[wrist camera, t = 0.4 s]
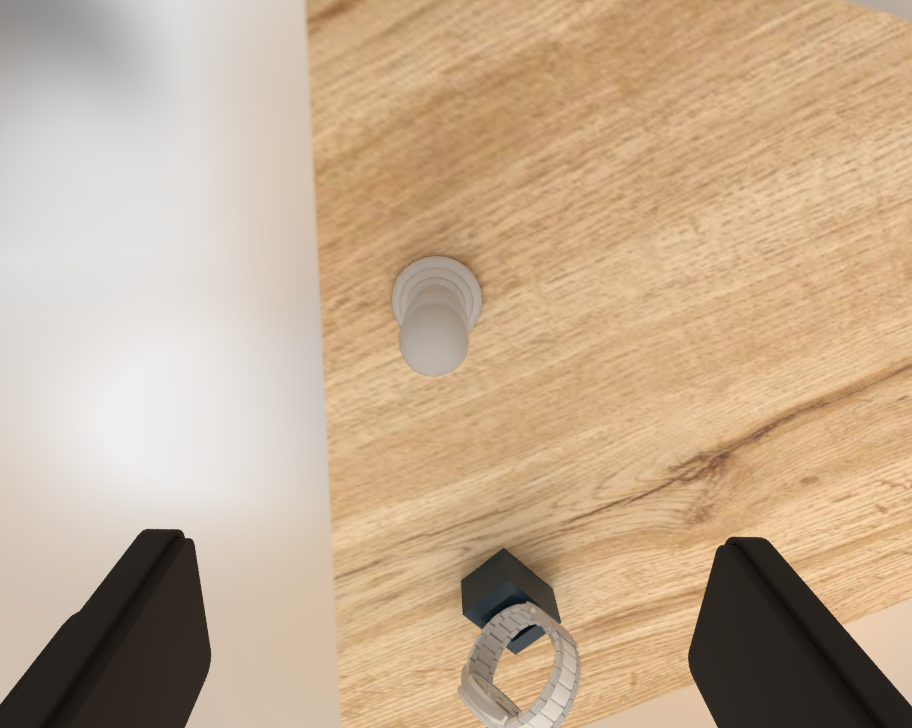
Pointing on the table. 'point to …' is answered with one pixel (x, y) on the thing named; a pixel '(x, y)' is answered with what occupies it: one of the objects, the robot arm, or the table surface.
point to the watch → (515, 644)
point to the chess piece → (435, 313)
